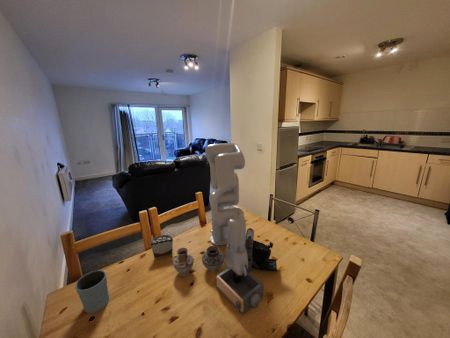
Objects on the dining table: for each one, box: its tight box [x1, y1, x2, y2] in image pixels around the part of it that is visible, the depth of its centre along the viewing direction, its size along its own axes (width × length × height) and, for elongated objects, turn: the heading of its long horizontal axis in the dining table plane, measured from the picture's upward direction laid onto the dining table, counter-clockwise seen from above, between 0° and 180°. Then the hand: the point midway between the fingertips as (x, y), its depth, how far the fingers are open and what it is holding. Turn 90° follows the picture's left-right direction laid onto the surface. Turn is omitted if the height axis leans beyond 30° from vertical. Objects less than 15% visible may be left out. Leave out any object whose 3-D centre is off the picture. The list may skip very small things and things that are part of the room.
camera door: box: [216, 275, 244, 312], centre depth 77 cm, size 16×2×5 cm, turn 39°
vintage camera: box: [246, 227, 278, 274], centre depth 92 cm, size 10×16×20 cm, turn 79°
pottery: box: [172, 245, 226, 277], centre depth 93 cm, size 11×25×12 cm, turn 99°
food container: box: [149, 234, 175, 260], centre depth 106 cm, size 12×6×10 cm, turn 108°
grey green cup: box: [74, 269, 110, 314], centre depth 77 cm, size 10×10×12 cm
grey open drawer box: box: [216, 267, 264, 316], centre depth 80 cm, size 18×12×7 cm
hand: (237, 280), depth 84 cm, fingers closed
